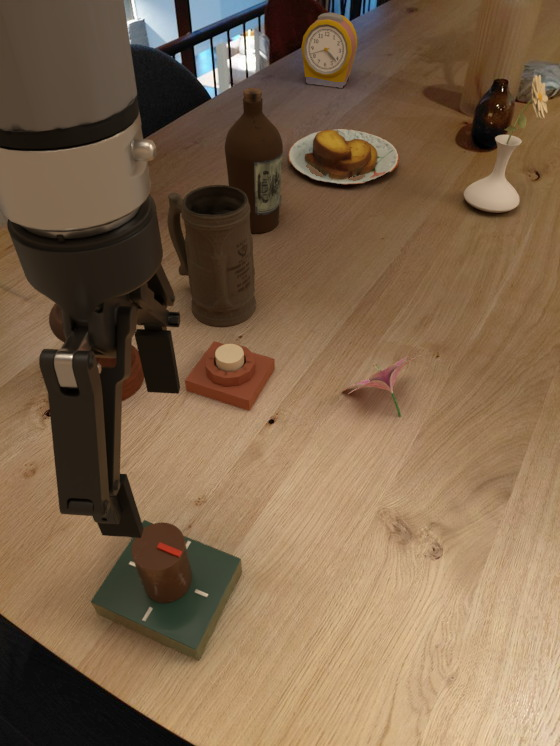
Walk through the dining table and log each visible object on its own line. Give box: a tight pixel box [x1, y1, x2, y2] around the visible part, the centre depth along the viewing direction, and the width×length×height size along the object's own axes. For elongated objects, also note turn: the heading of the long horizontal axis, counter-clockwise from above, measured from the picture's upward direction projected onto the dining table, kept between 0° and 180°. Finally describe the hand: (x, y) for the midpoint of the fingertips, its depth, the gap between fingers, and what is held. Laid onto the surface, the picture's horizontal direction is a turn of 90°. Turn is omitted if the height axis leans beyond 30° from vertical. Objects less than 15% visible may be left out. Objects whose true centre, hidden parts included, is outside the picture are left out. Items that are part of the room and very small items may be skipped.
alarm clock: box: [301, 12, 358, 82], centre depth 166 cm, size 15×8×18 cm, turn 72°
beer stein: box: [166, 184, 257, 328], centre depth 89 cm, size 15×11×20 cm
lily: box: [341, 351, 422, 418], centre depth 78 cm, size 12×12×10 cm
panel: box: [90, 519, 243, 662], centre depth 60 cm, size 12×10×3 cm
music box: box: [48, 302, 145, 402], centre depth 76 cm, size 15×11×20 cm
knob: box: [131, 522, 192, 603], centre depth 56 cm, size 5×5×7 cm
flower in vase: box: [463, 74, 549, 214], centre depth 112 cm, size 13×11×25 cm
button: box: [215, 343, 244, 372], centre depth 80 cm, size 4×4×2 cm
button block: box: [184, 340, 276, 412], centre depth 82 cm, size 10×9×4 cm
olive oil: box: [224, 87, 284, 234], centre depth 106 cm, size 11×11×25 cm
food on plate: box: [287, 128, 400, 186], centre depth 131 cm, size 25×25×7 cm
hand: (145, 453), depth 44 cm, fingers open, 13 cm apart
